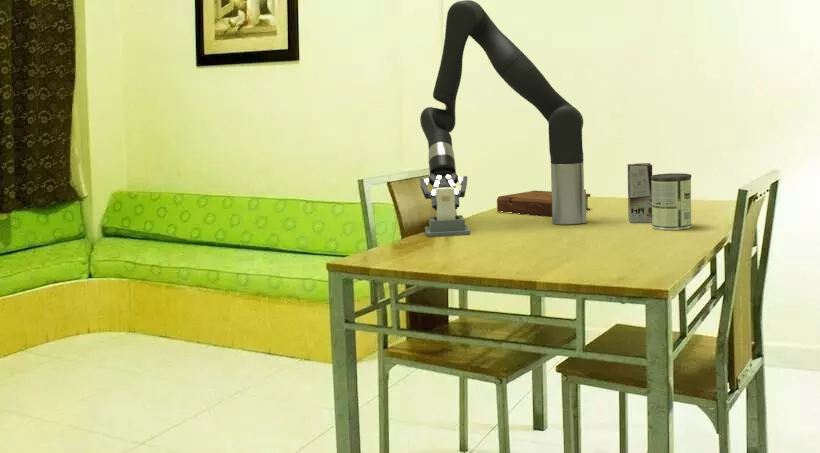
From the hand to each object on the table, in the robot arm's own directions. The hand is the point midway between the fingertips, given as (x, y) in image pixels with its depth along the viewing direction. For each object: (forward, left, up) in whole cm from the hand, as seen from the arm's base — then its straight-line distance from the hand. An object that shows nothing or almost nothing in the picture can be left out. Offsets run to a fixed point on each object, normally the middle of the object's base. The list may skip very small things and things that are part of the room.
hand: (446, 207), depth 237 cm
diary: (-33, -35, -8) cm, 49 cm away
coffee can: (-60, +10, -7) cm, 61 cm away
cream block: (0, -2, -4) cm, 5 cm away
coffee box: (-56, -5, -7) cm, 56 cm away
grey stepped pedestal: (0, -2, -7) cm, 7 cm away
